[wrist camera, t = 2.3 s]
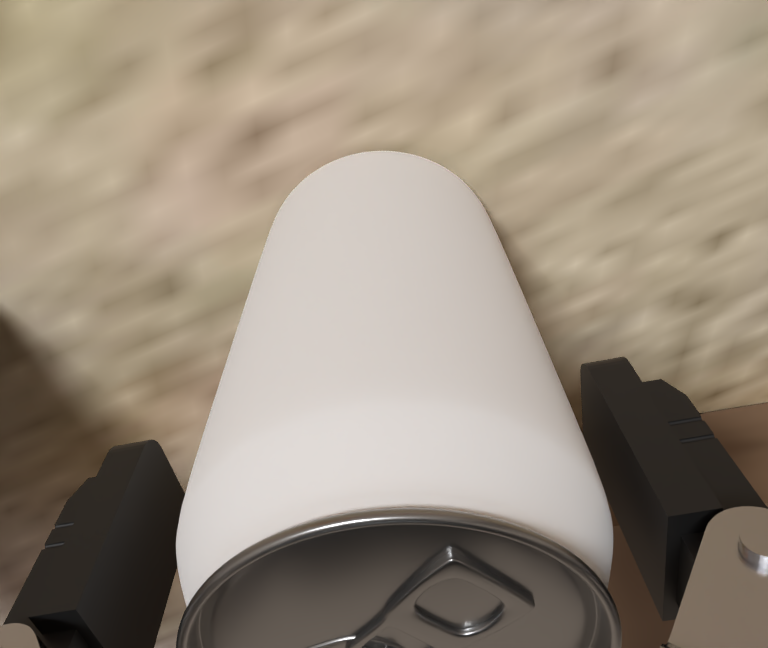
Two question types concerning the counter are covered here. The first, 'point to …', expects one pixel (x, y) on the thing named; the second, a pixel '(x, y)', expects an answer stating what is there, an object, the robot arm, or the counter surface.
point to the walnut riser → (626, 585)
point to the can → (392, 440)
